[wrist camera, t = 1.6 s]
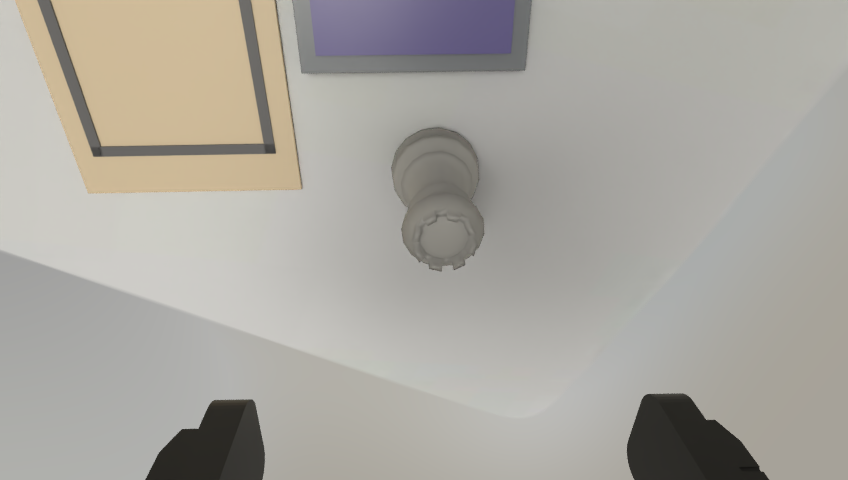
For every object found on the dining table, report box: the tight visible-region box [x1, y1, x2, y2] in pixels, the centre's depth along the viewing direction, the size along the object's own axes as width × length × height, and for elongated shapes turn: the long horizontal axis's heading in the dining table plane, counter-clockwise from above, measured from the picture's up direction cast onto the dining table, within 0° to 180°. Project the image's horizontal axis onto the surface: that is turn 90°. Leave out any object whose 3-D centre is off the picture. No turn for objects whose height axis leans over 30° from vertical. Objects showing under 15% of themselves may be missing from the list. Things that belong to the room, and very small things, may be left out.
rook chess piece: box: [391, 128, 484, 271], centre depth 22 cm, size 4×4×8 cm
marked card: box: [15, 0, 302, 193], centre depth 22 cm, size 11×13×1 cm
